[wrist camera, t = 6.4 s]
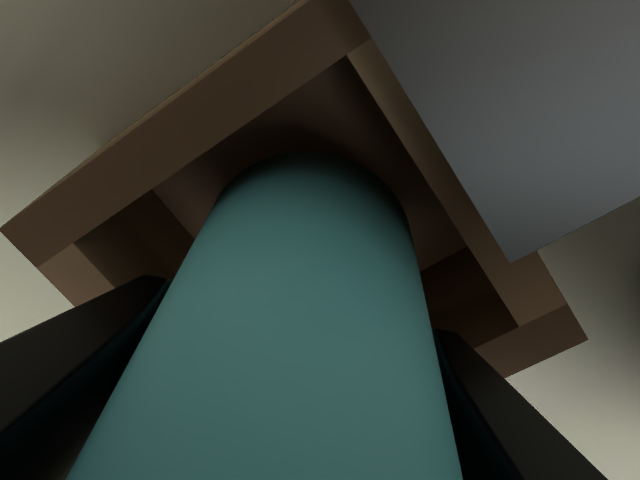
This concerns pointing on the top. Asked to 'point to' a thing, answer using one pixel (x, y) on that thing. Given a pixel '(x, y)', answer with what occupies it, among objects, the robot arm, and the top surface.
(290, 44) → the brown wooden open box
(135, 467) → the peg
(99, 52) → the top surface
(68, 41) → the top surface
